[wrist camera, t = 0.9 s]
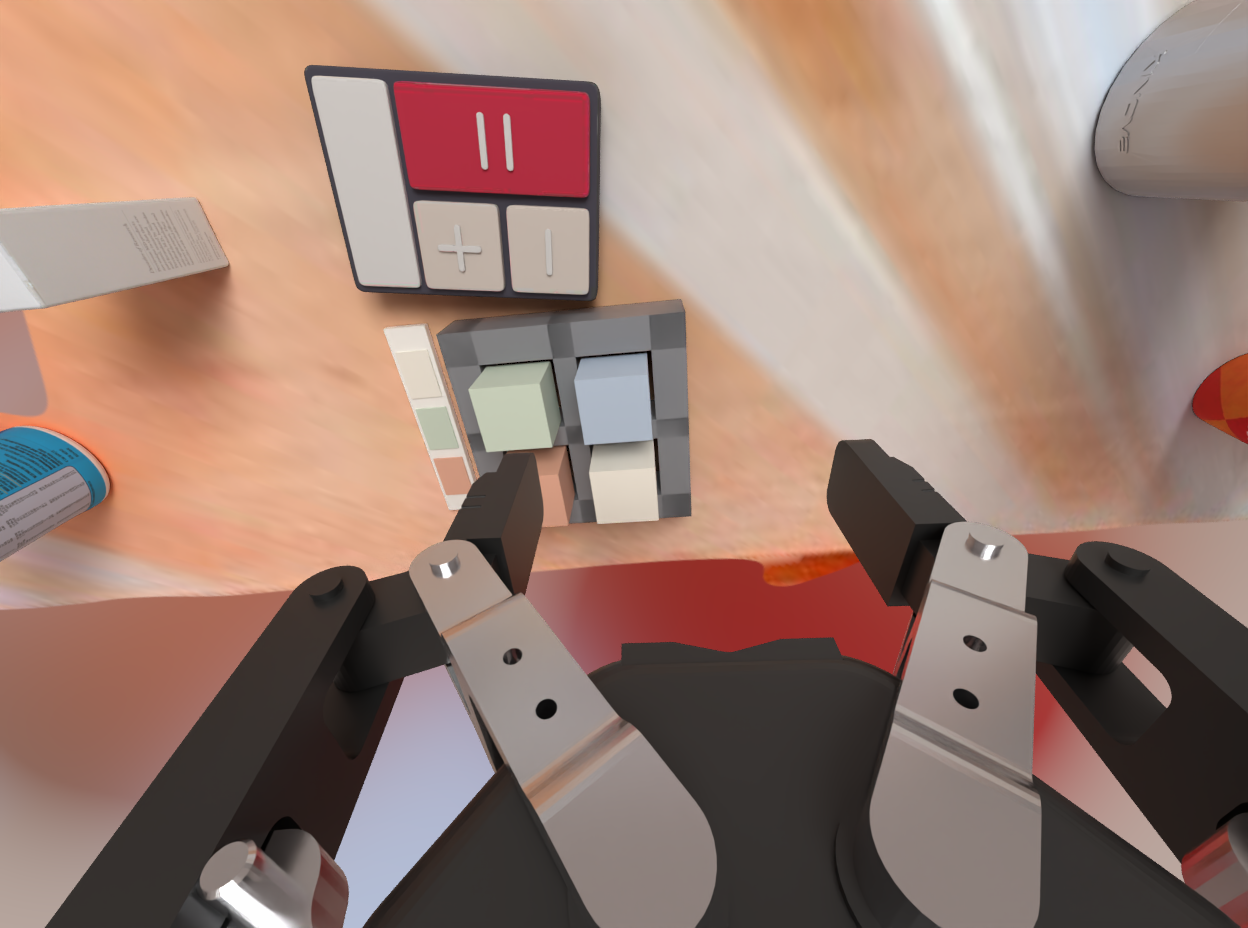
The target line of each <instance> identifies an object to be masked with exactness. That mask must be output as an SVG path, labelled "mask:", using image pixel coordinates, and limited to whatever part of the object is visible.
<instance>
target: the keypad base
mask: <svg viewBox="0 0 1248 928" xmlns="http://www.w3.org/2000/svg"><path fill="white" fill-rule="evenodd" d="M436 336H437V339H438V342H439V345H440V349H441V352H442V355H443V358H444V362H445V365H446V368H447V371H448V375H449V378H450V381H451V384H452V388H453V391H454V394H455V397H456V401H457V404H458V407H459V410H460V414H461V417H462V420H463V423H464V427H465V430H466V433H467V436H468V440H469V443H470V446H471V449H472V453H473V456H474V459H475V462H476V465H477V469H478V472H479V475H480V477H481V476H482V475H484V474H485V473H486V472H497V469H498V467H499V465H500V463H501V460H502V458H503V456H504V454H506V453H507V451H495V452H486V449H485V445H484V442H483V439H482V435H481V432H480V428H479V425H478V421H477V418H476V414H475V411H474V408H473V404H472V401H471V397H470V394H469V390H468V389H469V388H470V387H471V385H472V384H473V383H474V382H475V381H476V379H477V378H478V377H479V376H480V374H481V373H482V372H483V371H484V369H485V368H486V367H488V366H497V364H500V363H511V362H523V361H534V360H546V359H553V363H554V368H555V374H556V379H557V385H558V390H559V395H560V401H561V406H562V407H559V410H560V415H561V423H560V426H559V429H558V432H557V435H556V438H555V441H554V444H553V446H559V445H569V450H570V456H571V461H572V466H573V472H574V477H572V480H573V485H574V491H575V497H574V501H573V506H572V511H571V516H570V521H569V523H585V522H597V518H596V512H595V506H594V500H593V494H592V488H591V482H590V475H589V470H590V464H591V458H592V452H593V446H594V444H592V445H584V439H583V432H582V426H581V420H580V414H579V408H578V402H577V396H576V389H575V383H574V379H575V376H576V373H577V370H578V367H579V364H580V361H581V358H583V356H592V355H603V354H615V353H626V352H638V351H649V350H651V352H652V366H653V381H654V395H655V399H654V400H651V413H652V434H653V439H655V438H658V452H659V467H660V471H656V480H657V495H658V513H659V518H669V517H686V516H691V488H690V455H689V422H688V388H687V355H686V321H685V310H684V307H683V304H682V301H681V299H677V300H666V301H656V302H645V303H635V304H624V305H614V306H603V307H593V308H582V309H571V310H561V311H550V312H540V313H529V314H519V315H508V316H498V317H487V318H477V319H466V320H455V321H453V322H452V323H451V324H450V325H448V326H447V327H446V328H444V329H443V330H442V331H441V332H439V333H438V334H437V335H436Z"/></svg>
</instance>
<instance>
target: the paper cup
mask: <svg viewBox="0 0 1248 928" xmlns="http://www.w3.org/2000/svg"><path fill="white" fill-rule="evenodd" d="M1192 407H1193V411H1194V413H1195V415H1196V416H1197V417H1199V418H1200V419H1202V420H1203V421H1205V422H1207V423H1208V424H1210V425H1212V426H1214V427H1216V428H1218V429H1219V430H1221V431H1223V432H1225V433H1227V434H1229V435H1231V436H1233V437H1235V438H1237V439H1239V440H1240V441H1242V442H1244V443H1246V444H1248V353H1247V354H1244V355H1241V356H1239V357H1237V358H1234V359H1232V360H1230V361H1228V362H1227V363H1225V364H1223V365H1222V366H1220V367H1219V368H1218V369H1216V370H1215V371H1214V372H1213V373H1211V374H1210V375H1209V376H1208V377H1207V378H1206V379H1205V380H1204V381H1203V383H1202V384H1201V385H1200V387H1199V388H1198V390H1197V391H1196V393H1195V395H1194V398H1193V403H1192Z"/></svg>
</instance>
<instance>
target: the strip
mask: <svg viewBox="0 0 1248 928" xmlns="http://www.w3.org/2000/svg"><path fill="white" fill-rule="evenodd" d="M383 330H384V333H385V336H386V338H387V341H388V344H389V347H390V349H391V352H392V355H393V358H394V360H395V363H396V366H397V368H398V371H399V374H400V377H401V379H402V382H403V385H404V388H405V390H406V393H407V396H408V399H409V401H410V404H411V407H412V410H413V412H414V415H415V418H416V421H417V423H418V426H419V429H420V431H421V434H422V437H423V440H424V442H425V445H426V448H427V451H428V453H429V456H430V459H431V462H432V464H433V467H434V470H435V473H436V475H437V478H438V481H439V484H440V486H441V489H442V492H443V494H444V497H445V500H446V503H447V505H448V508H449V510H459V509H461V505H462V504H463V502H464V500H465V498H466V496H467V494H468V492H469V490H470V488H471V486H472V484H473V483H474V482H475V481H476V476H475V473H474V470H473V467H472V464H471V461H470V457H469V454H468V451H467V448H466V445H465V441H464V438H463V435H462V432H461V429H460V426H459V422H458V419H457V416H456V413H455V410H454V406H453V403H452V400H451V397H450V394H449V390H448V387H447V384H446V381H445V378H444V375H443V371H442V368H441V365H440V362H439V359H438V355H437V352H436V349H435V346H434V343H433V340H432V336H431V333H430V330H429V327H428V324H427V323H424V324H413V325H403V326H392V327H386V328H385V329H383Z"/></svg>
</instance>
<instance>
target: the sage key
mask: <svg viewBox="0 0 1248 928" xmlns="http://www.w3.org/2000/svg"><path fill="white" fill-rule="evenodd" d="M468 390H469V394H470V397H471V401H472V404H473V408H474V411H475V414H476V418H477V421H478V425H479V428H480V432H481V435H482V439H483V442H484V445H485V449H486V452H495V451H509V450H522V449H536V448H550V447H553V444H554V441H555V438H556V435H557V432H558V429H559V426H560V423H561V415H560V410H559V405H558V399H557V394H556V389H555V383H554V378H553V373H552V367H551V362H550V361H546V362H534V363H523V364H511V365H500V366H488V367H486V368H485V369H484V371H483V372H482V373H481V374H480V376H479V377H478V378H477V379H476V381H475V382H474V383H473V384H472V385H471V387H470V388H469V389H468Z"/></svg>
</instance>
